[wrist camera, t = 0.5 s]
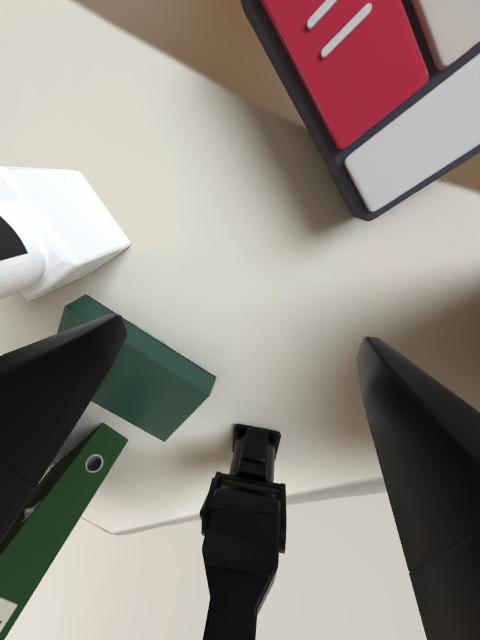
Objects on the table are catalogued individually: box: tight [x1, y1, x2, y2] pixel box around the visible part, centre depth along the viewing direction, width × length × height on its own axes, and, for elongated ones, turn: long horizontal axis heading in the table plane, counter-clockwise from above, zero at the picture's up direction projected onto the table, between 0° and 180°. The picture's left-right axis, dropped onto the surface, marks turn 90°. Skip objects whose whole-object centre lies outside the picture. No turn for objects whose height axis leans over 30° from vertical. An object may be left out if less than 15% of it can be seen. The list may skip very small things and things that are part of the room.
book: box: [57, 295, 216, 442], centre depth 31 cm, size 18×13×3 cm
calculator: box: [241, 0, 480, 221], centre depth 13 cm, size 11×4×15 cm
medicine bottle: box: [0, 166, 131, 301], centre depth 18 cm, size 7×7×12 cm
